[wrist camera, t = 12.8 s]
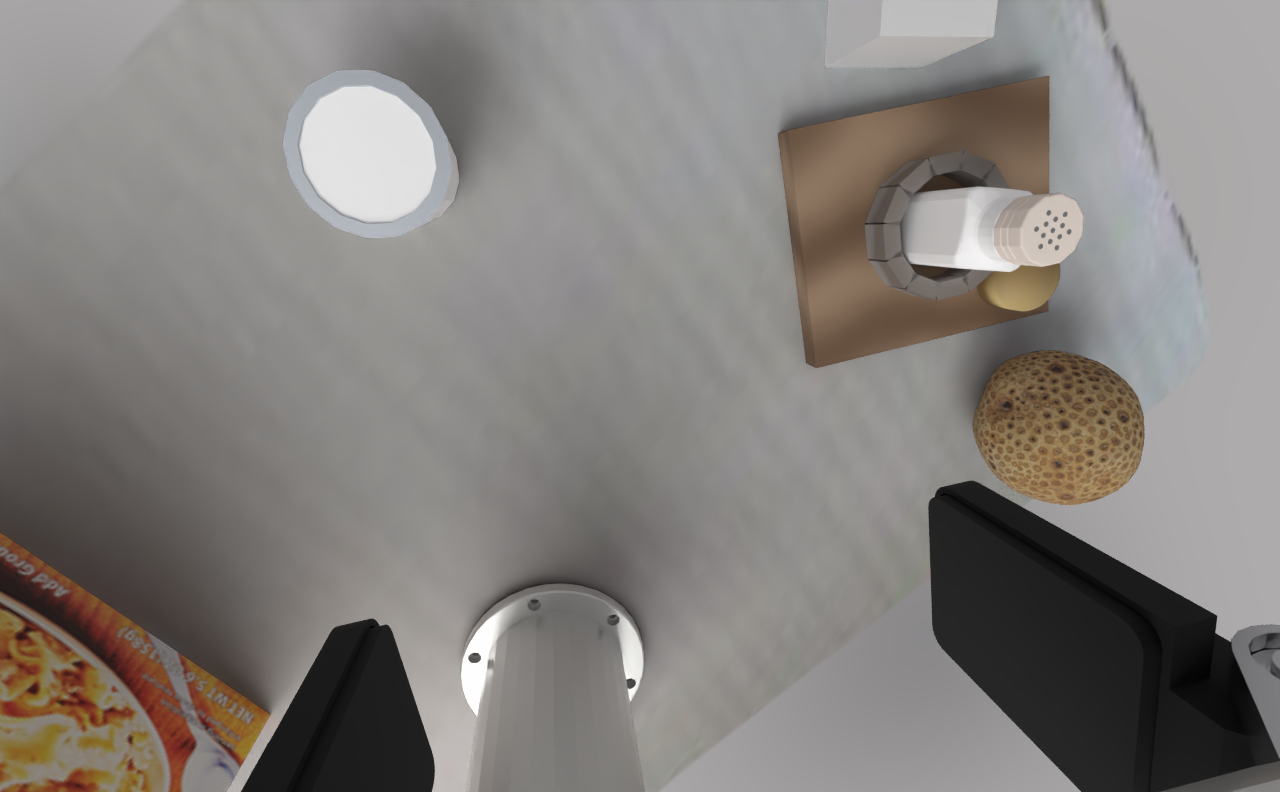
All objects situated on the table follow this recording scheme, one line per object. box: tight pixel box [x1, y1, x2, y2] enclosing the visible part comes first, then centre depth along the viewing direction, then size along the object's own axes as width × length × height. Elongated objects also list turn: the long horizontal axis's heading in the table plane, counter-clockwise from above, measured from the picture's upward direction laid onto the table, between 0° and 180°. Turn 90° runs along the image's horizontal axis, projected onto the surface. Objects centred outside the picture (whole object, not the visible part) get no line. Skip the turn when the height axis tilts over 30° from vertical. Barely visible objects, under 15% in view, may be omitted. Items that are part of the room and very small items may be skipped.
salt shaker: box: [900, 187, 1083, 272], centre depth 31 cm, size 4×4×10 cm
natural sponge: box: [973, 350, 1144, 505], centre depth 37 cm, size 9×9×10 cm
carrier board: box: [778, 76, 1060, 368], centre depth 35 cm, size 14×16×4 cm
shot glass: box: [283, 70, 459, 238], centre depth 29 cm, size 7×7×7 cm
